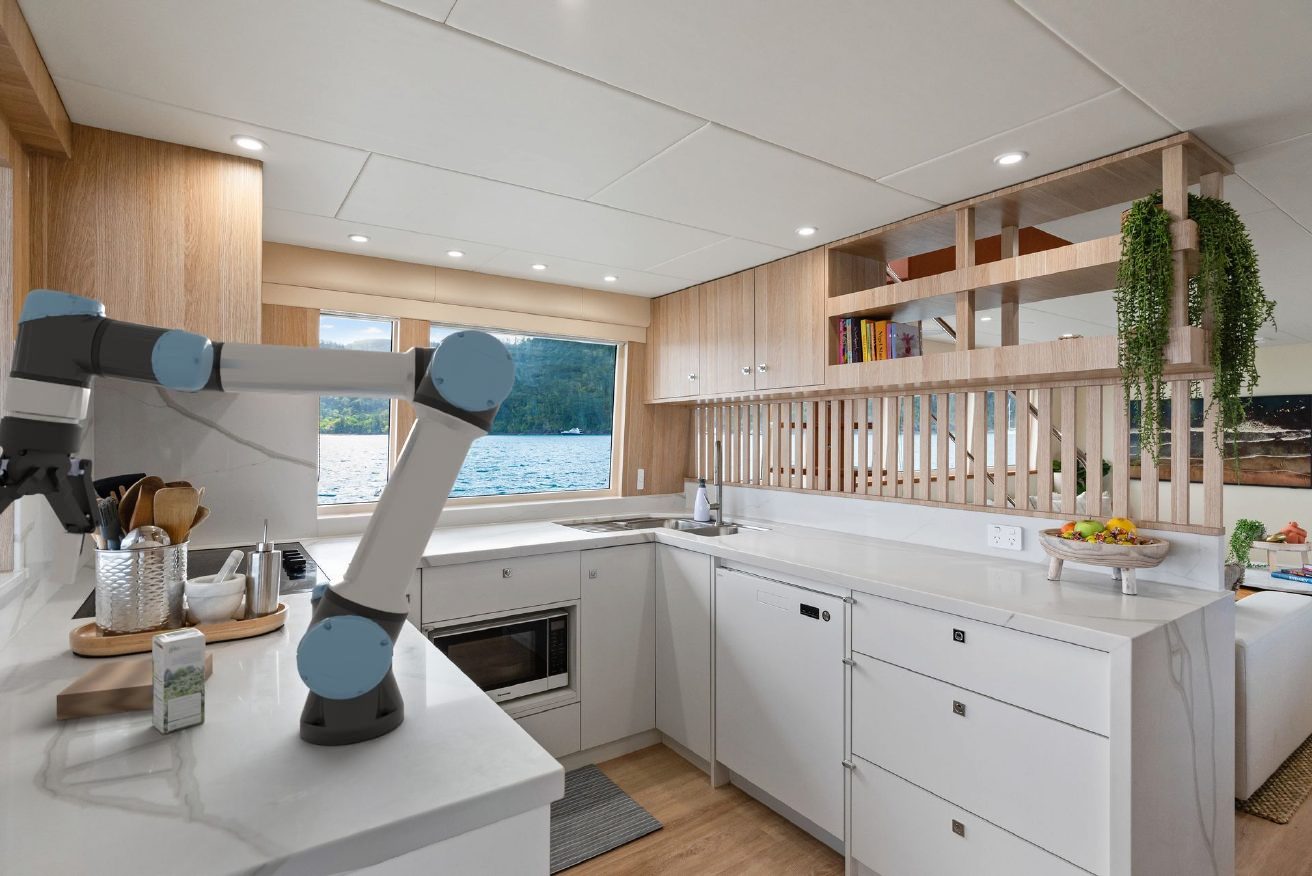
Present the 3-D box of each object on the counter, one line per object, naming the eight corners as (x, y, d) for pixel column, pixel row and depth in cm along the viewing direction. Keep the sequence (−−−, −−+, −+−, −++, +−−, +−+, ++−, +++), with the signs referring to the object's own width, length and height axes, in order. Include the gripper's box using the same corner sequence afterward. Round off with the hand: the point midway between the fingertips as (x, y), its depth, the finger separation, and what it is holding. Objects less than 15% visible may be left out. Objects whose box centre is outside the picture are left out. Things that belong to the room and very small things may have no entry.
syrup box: (193, 713, 111) (193, 626, 111) (206, 723, 107) (205, 632, 107) (151, 725, 107) (151, 634, 107) (163, 735, 103) (162, 641, 103)
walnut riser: (212, 672, 130) (212, 652, 130) (188, 703, 115) (188, 680, 115) (98, 685, 124) (98, 663, 124) (56, 720, 109) (56, 695, 109)
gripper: (97, 421, 94) (70, 572, 93) (-100, 404, 70) (-140, 609, 68) (150, 428, 95) (123, 579, 93) (-28, 414, 70) (-66, 619, 69)
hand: (12, 592), depth 81 cm, fingers open, 13 cm apart
